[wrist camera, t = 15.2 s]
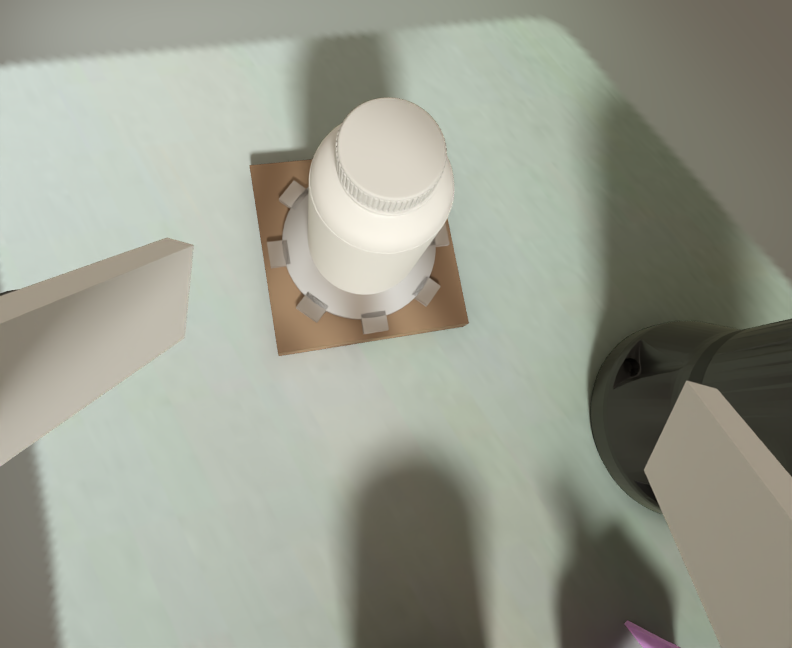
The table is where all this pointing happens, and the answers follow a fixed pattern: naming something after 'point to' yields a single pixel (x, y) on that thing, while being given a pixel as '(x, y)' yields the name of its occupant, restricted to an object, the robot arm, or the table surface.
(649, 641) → the toy chair
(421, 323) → the gear board
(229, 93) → the table surface
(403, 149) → the pill bottle
